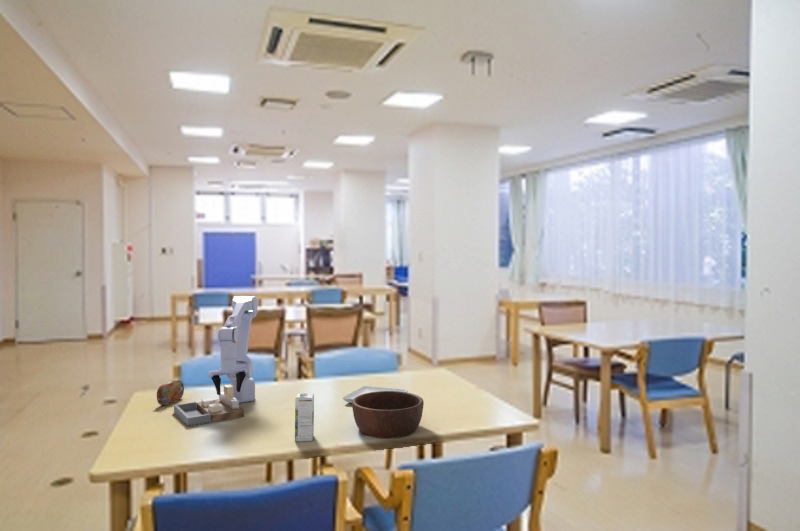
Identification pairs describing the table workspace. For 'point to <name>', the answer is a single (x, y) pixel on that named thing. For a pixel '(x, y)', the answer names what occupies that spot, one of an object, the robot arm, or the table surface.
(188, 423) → the box
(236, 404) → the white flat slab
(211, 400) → the tile
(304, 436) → the syrup box
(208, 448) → the table surface
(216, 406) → the tile
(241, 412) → the board
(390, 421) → the wooden bowl
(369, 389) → the salad plate
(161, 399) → the tin
